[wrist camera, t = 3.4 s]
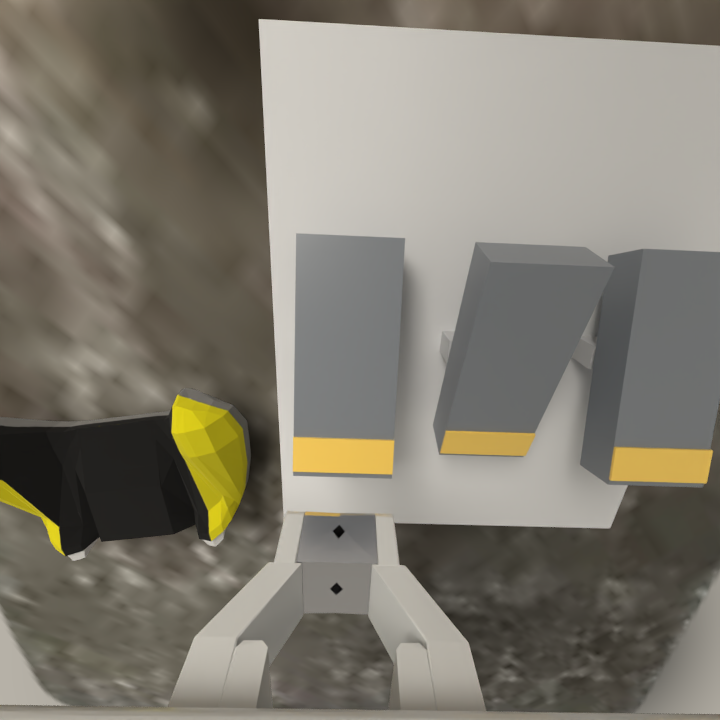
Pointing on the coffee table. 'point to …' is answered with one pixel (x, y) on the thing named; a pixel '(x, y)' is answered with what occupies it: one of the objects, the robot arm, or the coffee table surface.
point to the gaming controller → (129, 472)
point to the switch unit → (478, 219)
